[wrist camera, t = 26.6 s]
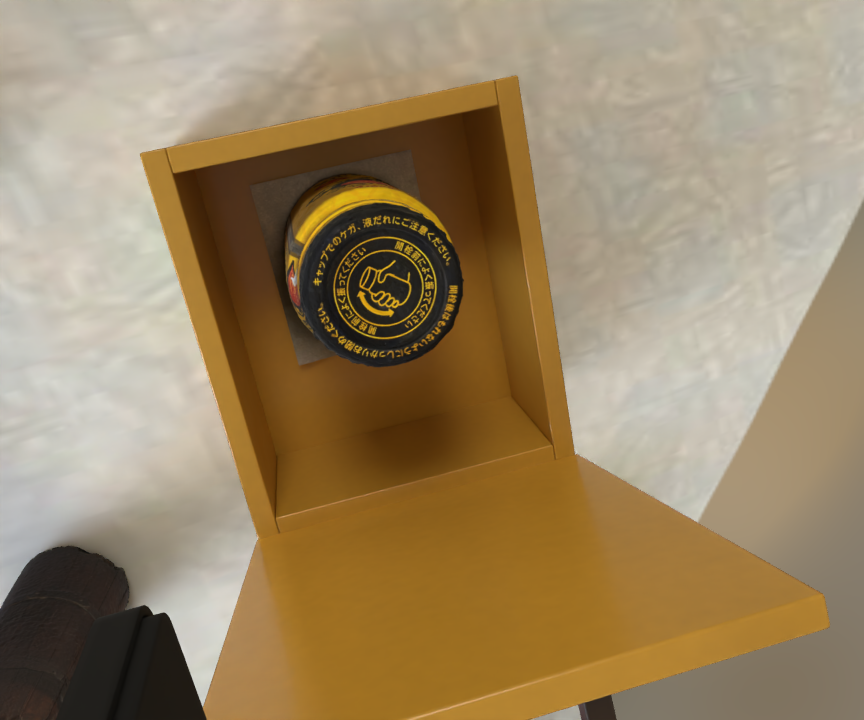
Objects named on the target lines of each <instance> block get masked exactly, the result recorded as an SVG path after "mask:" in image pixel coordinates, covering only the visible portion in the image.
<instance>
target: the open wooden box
mask: <svg viewBox="0 0 864 720" xmlns="http://www.w3.org/2000/svg"><path fill="white" fill-rule="evenodd" d="M406 150H411V153H412V159H413V164H414V169H415V174H416V178H417V183H418V189H419V193H420V198H421V202H422V203H423V204H424V205H426V206H427V207H428V208H429V209H430V210H431V211H432V212H433V213H434V214H435V215H436V216H437V218H438V219H439V221H440V222H441V223H442V224H443V226H444V228H445V229H446V231H447V232H448V233H449V236H450V239H451V241H452V243H453V246H454V248H455V251H456V253H457V254H458V257H459V260H460V267H461V270H462V278H463V279H464V281H463V297H462V300H461V304H460V307H459V313H458V315H457V316H456V319H455V322H454V326H453V328H452V329H451V330H450V332H449V333H447V334H446V336H445V337H444V338H443V339H442V340H441V341H440V342H439V343H438V345H437V346H436V347H435V348H434V349H433V350H431V351H429V352H428V353H426V354H424V355H423V356H422V357H420V358H418V359H415V360H413V361H410V362H407V363H403V364H400V365H396V366H388V367H372V366H366V365H364V364H356V363H352V362H350V361H349V360H348V359H343V358H341V357H339V356H338V355H336V356H332V357H328V358H324V359H320V360H317V361H314V362H311V363H307V364H303V365H299V364H298V360H297V357H296V353H295V350H294V346H293V342H292V338H291V335H290V331H289V328H288V324H287V320H286V316H285V313H284V309H283V305H282V301H281V298H280V295H279V291H278V287H277V283H276V281H275V276H274V272H273V269H272V265H271V261H270V258H269V254H268V250H267V247H266V243H265V240H264V236H263V232H262V229H261V225H260V221H259V218H258V214H257V210H256V207H255V203H254V200H253V196H252V192H251V189H250V185H254V184H258V183H263V182H267V181H272V180H276V179H281V178H286V177H289V176H294V175H298V174H303V173H307V172H312V171H316V170H320V169H325V168H329V167H334V166H338V165H343V164H347V163H352V162H356V161H361V160H365V159H370V158H375V157H379V156H383V155H388V154H393V153H397V152H402V151H406ZM140 157H141V160H142V163H143V167H144V170H145V173H146V176H147V180H148V183H149V186H150V189H151V193H152V196H153V199H154V202H155V206H156V209H157V212H158V215H159V219H160V222H161V225H162V228H163V232H164V235H165V238H166V241H167V245H168V248H169V251H170V254H171V258H172V261H173V264H174V267H175V271H176V274H177V277H178V280H179V284H180V287H181V290H182V293H183V297H184V300H185V303H186V306H187V310H188V313H189V316H190V319H191V322H192V326H193V329H194V332H195V335H196V339H197V342H198V345H199V348H200V352H201V355H202V358H203V361H204V365H205V368H206V371H207V374H208V378H209V381H210V384H211V387H212V391H213V394H214V397H215V400H216V404H217V407H218V410H219V413H220V417H221V420H222V423H223V426H224V430H225V433H226V436H227V439H228V443H229V446H230V449H231V452H232V456H233V459H234V462H235V465H236V469H237V472H238V475H239V478H240V482H241V485H242V488H243V491H244V495H245V498H246V501H247V504H248V508H249V511H250V514H251V517H252V521H253V524H254V527H255V530H256V534H257V537H258V539H262V538H266V537H269V536H273V535H277V534H281V533H284V532H288V531H292V530H296V529H299V528H303V527H307V526H311V525H314V524H318V523H322V522H326V521H329V520H333V519H337V518H341V517H344V516H348V515H352V514H355V513H359V512H363V511H367V510H370V509H374V508H378V507H382V506H385V505H389V504H393V503H397V502H400V501H404V500H408V499H412V498H415V497H419V496H423V495H427V494H430V493H434V492H438V491H442V490H445V489H449V488H453V487H456V486H460V485H464V484H468V483H471V482H475V481H479V480H483V479H486V478H490V477H494V476H498V475H501V474H505V473H509V472H513V471H516V470H520V469H524V468H528V467H531V466H535V465H539V464H543V463H546V462H550V461H554V460H557V459H561V458H565V457H569V456H572V455H575V451H574V445H573V438H572V431H571V425H570V418H569V412H568V405H567V398H566V392H565V385H564V378H563V372H562V365H561V359H560V352H559V345H558V339H557V332H556V326H555V319H554V312H553V306H552V299H551V292H550V286H549V279H548V273H547V266H546V259H545V253H544V246H543V239H542V233H541V226H540V220H539V213H538V206H537V200H536V193H535V186H534V180H533V173H532V167H531V160H530V153H529V147H528V140H527V133H526V127H525V120H524V114H523V107H522V100H521V94H520V87H519V80H518V76H511V77H506V78H501V79H496V80H491V81H486V82H482V83H477V84H472V85H467V86H462V87H457V88H453V89H448V90H443V91H438V92H433V93H428V94H424V95H419V96H414V97H409V98H404V99H399V100H395V101H390V102H385V103H380V104H375V105H370V106H365V107H361V108H356V109H351V110H346V111H341V112H336V113H332V114H327V115H322V116H317V117H312V118H307V119H303V120H298V121H293V122H288V123H283V124H278V125H274V126H269V127H264V128H259V129H254V130H249V131H245V132H240V133H235V134H230V135H225V136H220V137H215V138H211V139H206V140H201V141H196V142H191V143H186V144H182V145H177V146H172V147H167V148H162V149H157V150H153V151H148V152H143V153H140Z"/></svg>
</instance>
